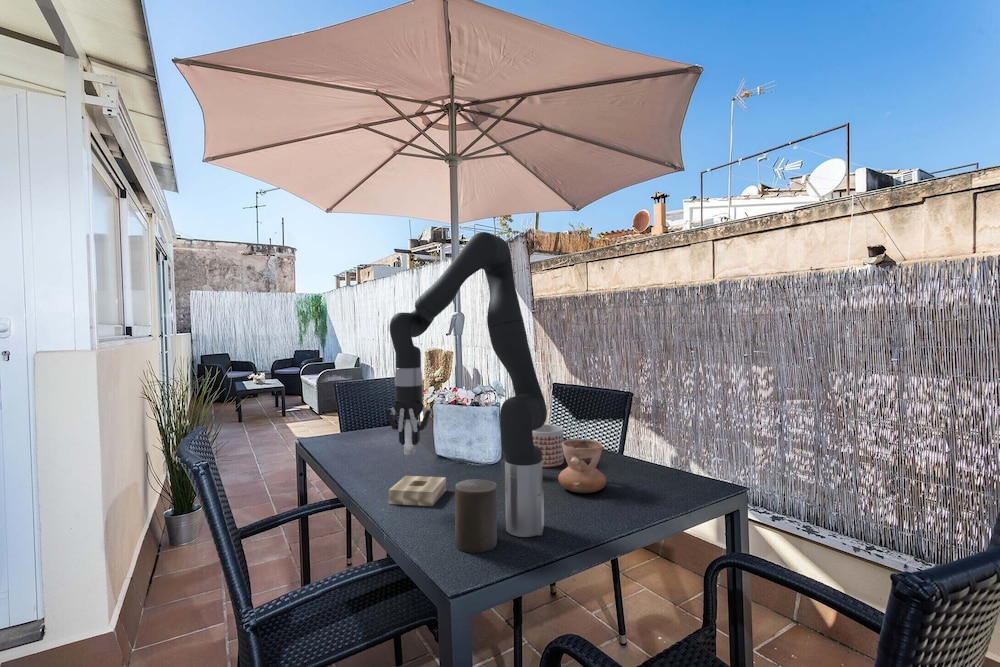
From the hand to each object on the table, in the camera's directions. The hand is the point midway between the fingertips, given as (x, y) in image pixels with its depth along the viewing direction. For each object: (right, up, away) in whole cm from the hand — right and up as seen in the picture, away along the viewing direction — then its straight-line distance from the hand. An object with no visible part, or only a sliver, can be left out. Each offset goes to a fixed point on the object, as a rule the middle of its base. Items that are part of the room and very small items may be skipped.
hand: (409, 444), depth 135 cm
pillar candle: (+20, -18, -24) cm, 36 cm away
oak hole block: (+1, -17, +7) cm, 19 cm away
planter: (+42, -16, +40) cm, 60 cm away
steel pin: (0, -3, 0) cm, 3 cm away
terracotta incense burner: (+51, -17, +12) cm, 55 cm away
